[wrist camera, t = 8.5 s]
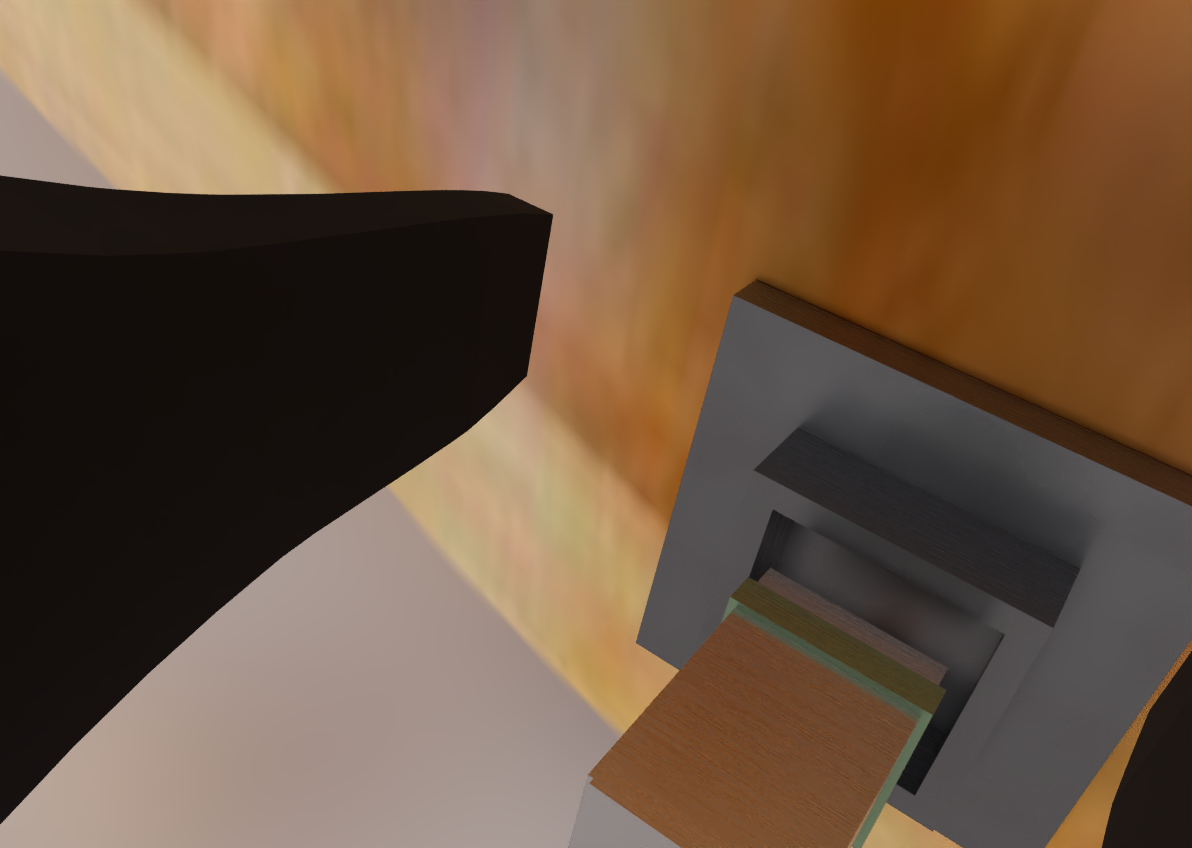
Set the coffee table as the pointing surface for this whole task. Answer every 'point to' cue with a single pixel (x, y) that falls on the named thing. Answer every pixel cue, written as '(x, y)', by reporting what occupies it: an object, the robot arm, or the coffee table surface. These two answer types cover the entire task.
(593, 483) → the coffee table surface
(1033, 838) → the grey slotted holder
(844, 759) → the pull-out drawer
